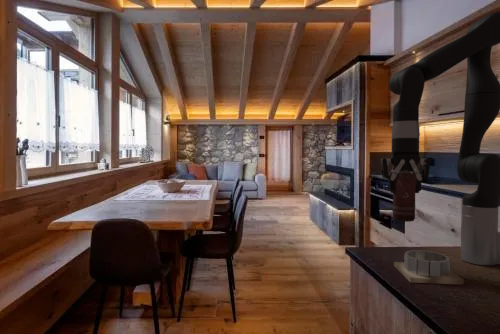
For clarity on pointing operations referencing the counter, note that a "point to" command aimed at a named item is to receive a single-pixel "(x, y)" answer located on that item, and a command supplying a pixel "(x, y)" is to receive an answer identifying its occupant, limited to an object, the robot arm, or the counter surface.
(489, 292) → the counter surface
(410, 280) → the stand
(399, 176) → the can
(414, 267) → the collar
